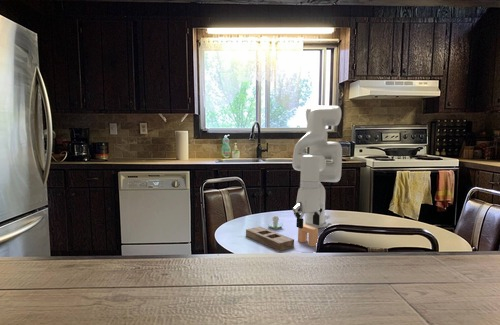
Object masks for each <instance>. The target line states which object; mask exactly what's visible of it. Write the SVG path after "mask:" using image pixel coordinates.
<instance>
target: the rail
mask: <svg viewBox="0 0 500 325" xmlns="http://www.w3.org/2000/svg"><path fill="white" fill-rule="evenodd" d="M245 237H247V238H249V239H252V240H255V241H257V242H259V243H260V244H262V245H266V246H268V247H270V248H272V249H274V250H276V251H278V250H279V251H283V250H287V249H291V248H295V239H293V238H291V237H288V236H286V235H284V234H280V233H278V232H276V231H273V230H270V229H268V228H265V227H262V226H256V227H252V228H246V229H245Z"/></svg>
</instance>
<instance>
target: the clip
mask: <svg viewBox="0 0 500 325" xmlns="http://www.w3.org/2000/svg"><path fill="white" fill-rule="evenodd" d="M297 228H298V227H297ZM297 230H298V231H297V241H298V242H300V243H305V242H307V244H308V246H310V247H312V246H313V247H316V243H317V239H318V240H319V228H315V227H312V226H309V225H306V224H303V228H302V229H301V228H298V229H297Z"/></svg>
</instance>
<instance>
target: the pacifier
mask: <svg viewBox="0 0 500 325" xmlns="http://www.w3.org/2000/svg"><path fill="white" fill-rule="evenodd" d="M271 219H272V223H271V222H270V223H269V222H268V223H267V226H268V228H271V229H273V230H274V229H275V230H278V229H280V228H282V227H283V226H284V223H278V222H279V217H278V215H273V216H272V218H271Z"/></svg>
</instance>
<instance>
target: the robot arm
mask: <svg viewBox="0 0 500 325" xmlns="http://www.w3.org/2000/svg"><path fill="white" fill-rule="evenodd" d="M305 117H306V130H305V131H306V132H305V134H304V135H303V136H302V137H301V138H300V139H298V140H297V142H296V143H295V145H294V147H293V153H292V160H291V161H292V162H291V165H292V168H293V170H295V171H298V172H300V182H299V188H298V190H297V196H296V203H295V205H294V207H292V212H293V215H294V216H295V218H296V222H295V223H296V224H295V225H296V228H301V229H302V228H303V224H306V225H309V226H312V227H315V228H318V229H321V228H326V227H328V222H327V220H329V219H331V216H330V215H329V214H328V215H325V212H326V210H325V209H326V189H325V187H324V185H323V184H322V183H321V182H324V183H326V182H327V183H338V182H339V181H340V180H341V177H342V167H343V166H342V165H343V164H342V163H343V147H342V145H341V143H340V142H339V141H328V136H329V135H328V131H327V130H326V127H336V126H338V125H339V124H340V122H341V119H342V109H341V107H340V106H339V105H311V106H309V107H307V109H306V111H305ZM308 147H309V153H301V152H302V151H304V149H306V148H308ZM303 217H304V218H303Z"/></svg>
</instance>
